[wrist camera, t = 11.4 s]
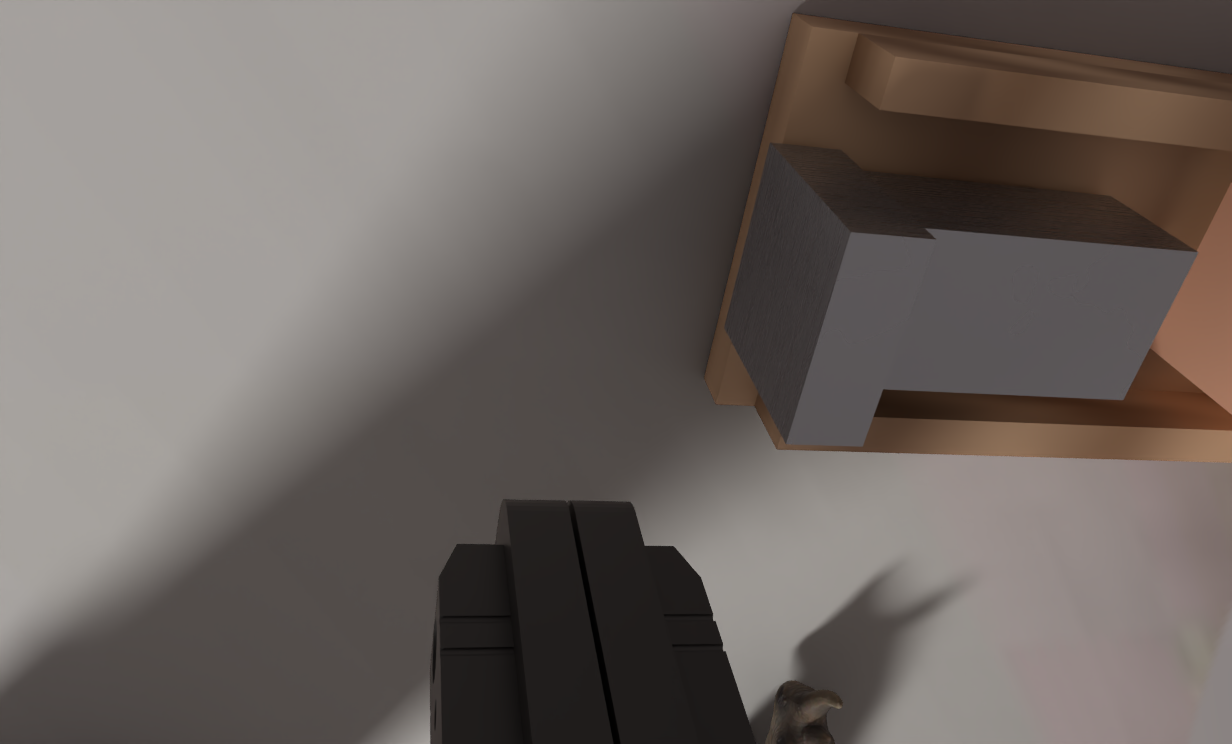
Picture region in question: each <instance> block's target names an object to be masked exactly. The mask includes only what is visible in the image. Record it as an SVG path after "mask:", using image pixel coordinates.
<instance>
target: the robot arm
mask: <svg viewBox="0 0 1232 744" xmlns="http://www.w3.org/2000/svg"><path fill="white" fill-rule="evenodd" d="M430 711H431V715H430V743H431V744H756V742H755V739H754V736H753V733H752V730H751V727H750V724H749V721H748V718H747V715H746V712H745V709H744V706H743V703H742V700H741V697H740V694H739V691H738V688H737V684H736V681H735V678H734V675H733V672H732V669H731V666H730V663H729V660H728V657H727V654H726V651H724V652H723V642H722V639H721V636H720V633H719V630H718V627H717V624H716V621H713V612H712V609H711V606H710V603H709V600H708V597H707V594H706V591H705V588H704V585H703V582H702V579H701V577H700V576H699V575H698V574H697V573H696V571H695V570H694V569H693V568H692V567H691V566H690V565H689V563H688V562H687V561H686V560H685V559H684V558H683V556H682V555H681V554H680V553H679V552H678V551H677V550H676V548H675V547H674V546H644V542H643V538H642V535H641V531H640V527H639V524H638V520H637V517H636V513H635V510H634V507H633V505H632V504H631V503H630V502H615V501H568V502H567V503H566V501H556V500H510V499H504V500H503V501H502V503H501V507H500V513H499V520H498V528H497V535H496V543H495V545H490V544H457V545H456V547H455V549H454V551H453V553H452V554H451V556H450V558H449V560H448V562H447V563H446V565H445V567H444V569H443V571H442V572H441V574H440V576H439V581H438V591H437V602H436V612H435V623H434V633H433V644H432V654H431V665H430Z"/></svg>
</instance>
